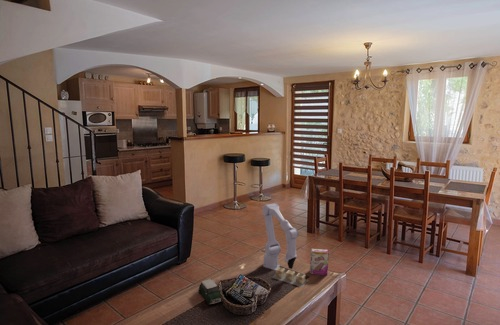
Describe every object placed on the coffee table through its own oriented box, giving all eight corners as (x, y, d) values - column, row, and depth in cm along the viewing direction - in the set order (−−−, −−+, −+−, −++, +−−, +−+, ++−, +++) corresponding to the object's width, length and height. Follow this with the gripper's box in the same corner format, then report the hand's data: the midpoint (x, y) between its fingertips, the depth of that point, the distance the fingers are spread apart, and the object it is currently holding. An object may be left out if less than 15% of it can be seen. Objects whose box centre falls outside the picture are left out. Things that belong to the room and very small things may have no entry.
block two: (295, 282, 194) (296, 275, 194) (298, 279, 198) (298, 272, 197) (302, 284, 192) (302, 277, 191) (305, 281, 196) (305, 274, 195)
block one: (275, 276, 201) (275, 269, 201) (278, 273, 205) (278, 266, 204) (281, 278, 199) (282, 271, 198) (284, 275, 203) (285, 268, 202)
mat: (271, 278, 200) (271, 277, 200) (278, 271, 208) (278, 271, 208) (302, 288, 189) (302, 287, 189) (308, 280, 198) (308, 279, 198)
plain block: (285, 279, 198) (285, 272, 197) (288, 276, 202) (288, 269, 201) (292, 281, 196) (292, 274, 195) (294, 278, 199) (295, 271, 199)
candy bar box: (310, 275, 205) (311, 251, 202) (309, 271, 210) (310, 248, 207) (327, 276, 204) (328, 252, 201) (326, 272, 209) (327, 249, 206)
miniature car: (209, 307, 169) (209, 294, 168) (197, 291, 184) (197, 278, 183) (224, 303, 174) (224, 289, 172) (211, 287, 189) (211, 275, 188)
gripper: (292, 253, 187) (291, 274, 189) (301, 245, 200) (300, 265, 202) (281, 250, 191) (281, 271, 193) (291, 242, 203) (290, 262, 205)
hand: (290, 268), depth 197 cm, fingers closed
